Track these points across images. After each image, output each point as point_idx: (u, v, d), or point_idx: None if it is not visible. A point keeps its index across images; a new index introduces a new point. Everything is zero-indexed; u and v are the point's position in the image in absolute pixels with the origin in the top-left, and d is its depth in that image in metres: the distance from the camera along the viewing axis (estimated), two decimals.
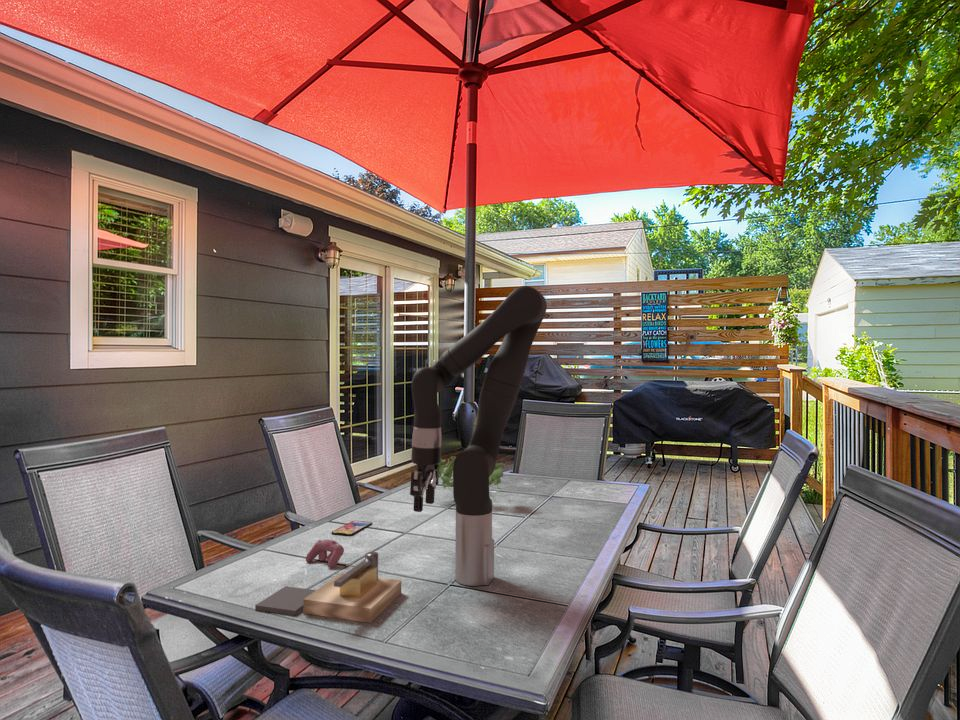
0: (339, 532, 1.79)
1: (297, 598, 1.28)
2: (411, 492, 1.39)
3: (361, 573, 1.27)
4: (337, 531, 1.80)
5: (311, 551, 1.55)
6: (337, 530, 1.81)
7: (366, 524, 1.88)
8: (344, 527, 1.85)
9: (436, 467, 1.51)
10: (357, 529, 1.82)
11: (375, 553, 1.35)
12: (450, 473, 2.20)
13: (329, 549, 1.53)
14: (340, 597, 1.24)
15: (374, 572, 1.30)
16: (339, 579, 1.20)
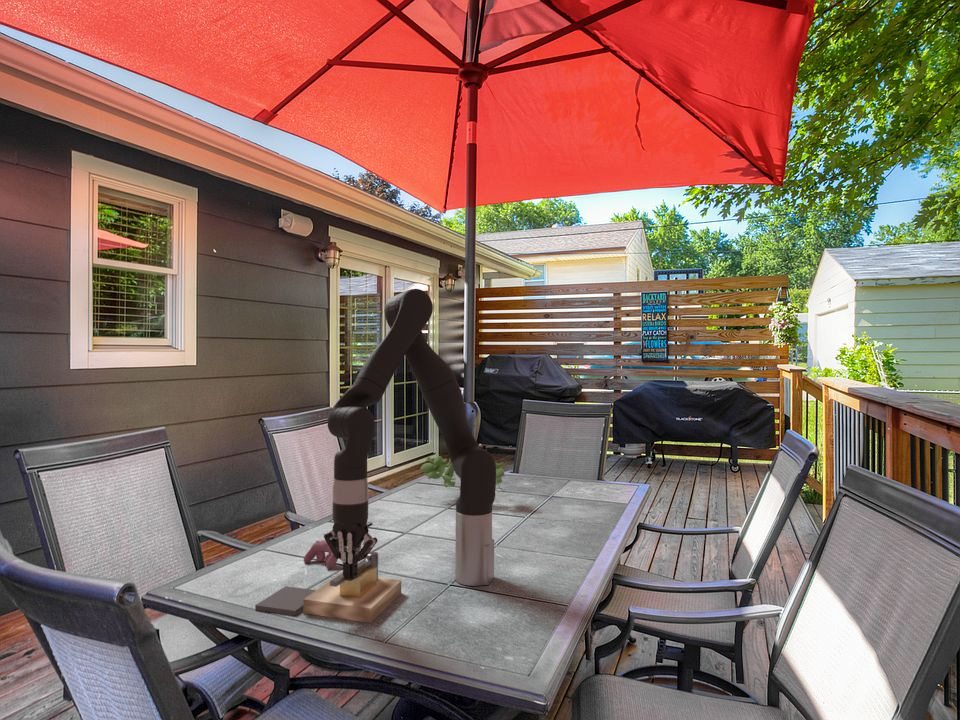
0: None
1: (297, 598, 1.28)
2: (360, 560, 1.20)
3: (361, 573, 1.27)
4: None
5: (309, 552, 1.54)
6: None
7: None
8: None
9: None
10: None
11: (375, 553, 1.35)
12: (451, 472, 2.21)
13: (327, 550, 1.52)
14: (340, 597, 1.24)
15: (374, 572, 1.30)
16: (335, 578, 1.21)
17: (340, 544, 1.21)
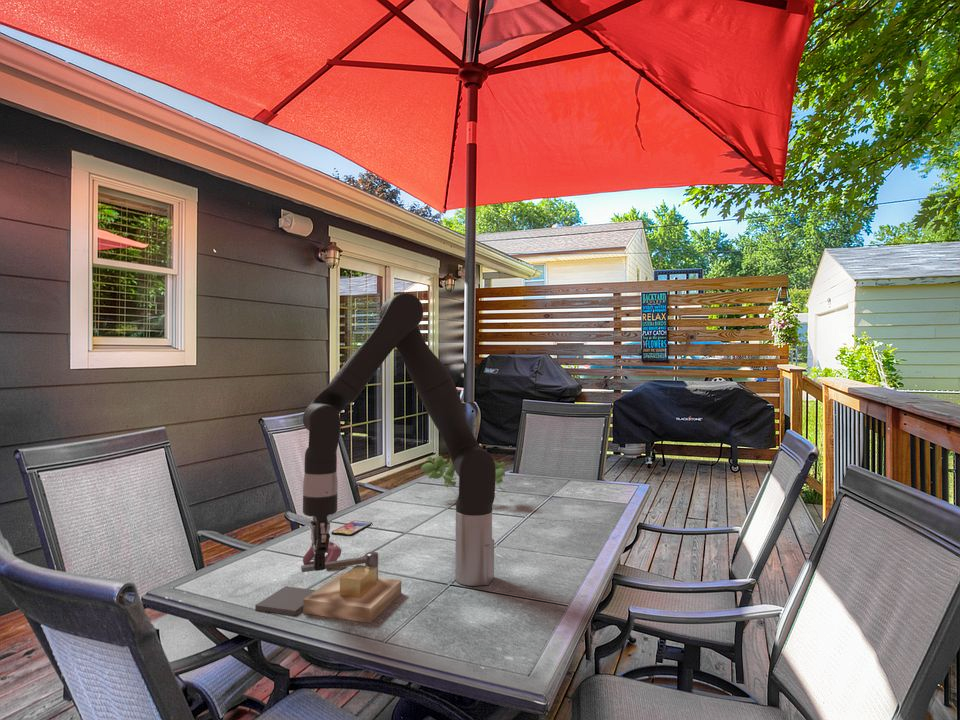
0: (339, 532, 1.79)
1: (297, 598, 1.28)
2: (317, 552, 1.24)
3: (361, 573, 1.27)
4: (337, 531, 1.80)
5: (308, 552, 1.54)
6: (337, 530, 1.81)
7: (366, 524, 1.88)
8: (344, 527, 1.85)
9: None
10: (357, 529, 1.82)
11: (375, 554, 1.34)
12: (452, 472, 2.22)
13: None
14: (340, 597, 1.24)
15: (374, 572, 1.30)
16: (308, 565, 1.28)
17: (311, 533, 1.28)
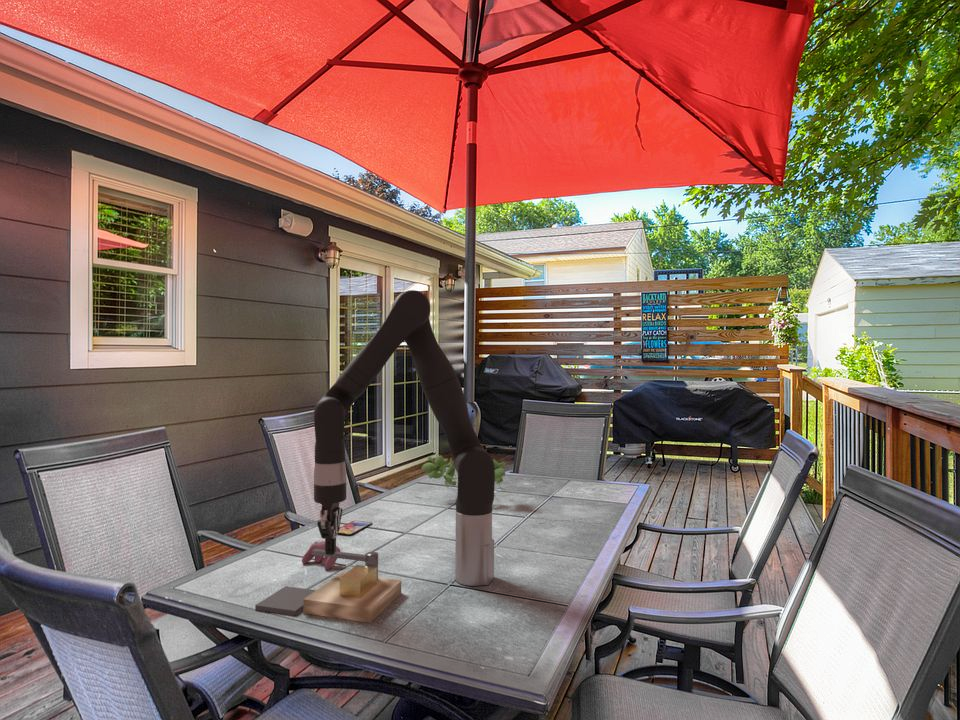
0: (339, 532, 1.79)
1: (297, 598, 1.28)
2: (323, 537, 1.32)
3: (361, 573, 1.27)
4: None
5: (307, 553, 1.53)
6: None
7: (366, 524, 1.88)
8: (344, 527, 1.85)
9: None
10: (357, 529, 1.82)
11: (372, 555, 1.33)
12: (452, 472, 2.22)
13: None
14: (340, 597, 1.24)
15: (374, 572, 1.30)
16: (319, 549, 1.39)
17: None
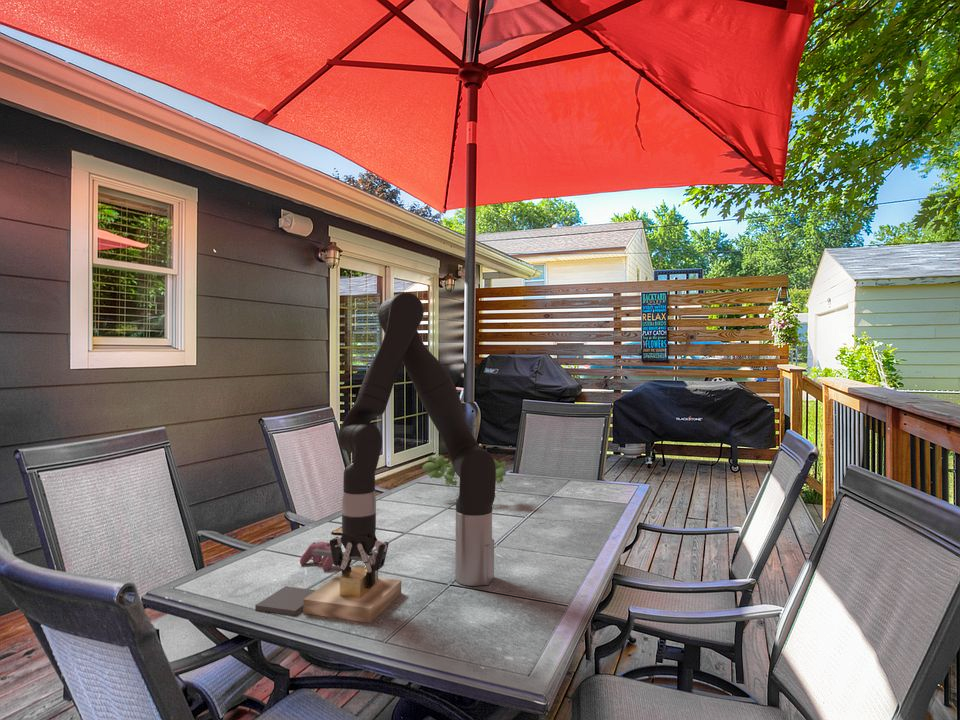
0: (339, 532, 1.79)
1: (297, 598, 1.28)
2: (379, 567, 1.26)
3: (361, 573, 1.27)
4: (337, 531, 1.80)
5: (305, 553, 1.53)
6: (337, 530, 1.81)
7: None
8: None
9: None
10: None
11: None
12: (453, 472, 2.23)
13: None
14: (340, 597, 1.24)
15: None
16: (319, 549, 1.39)
17: (346, 553, 1.27)
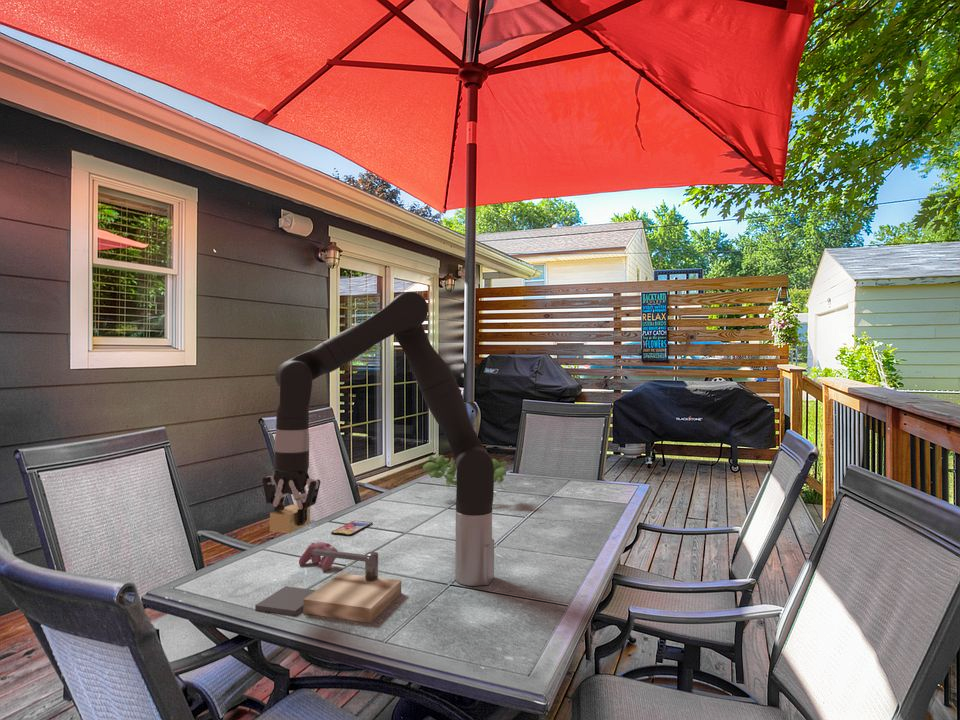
0: (339, 532, 1.79)
1: (297, 598, 1.28)
2: (310, 504, 1.26)
3: (293, 510, 1.27)
4: (337, 531, 1.80)
5: (304, 554, 1.52)
6: (337, 530, 1.81)
7: (366, 524, 1.88)
8: (344, 527, 1.85)
9: None
10: (357, 529, 1.82)
11: (372, 555, 1.33)
12: (453, 471, 2.23)
13: None
14: (340, 597, 1.24)
15: (307, 511, 1.30)
16: (319, 549, 1.39)
17: (277, 490, 1.27)
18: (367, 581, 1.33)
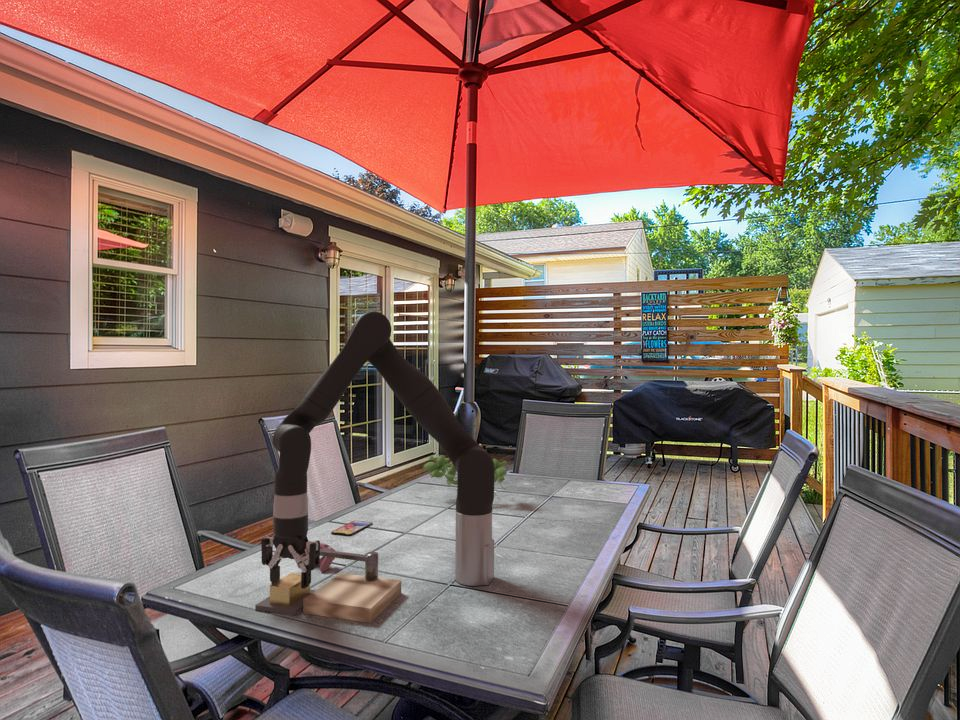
0: (339, 532, 1.79)
1: None
2: (314, 566, 1.26)
3: (292, 581, 1.27)
4: (337, 531, 1.80)
5: None
6: (337, 530, 1.81)
7: (366, 524, 1.88)
8: (344, 527, 1.85)
9: None
10: (357, 529, 1.82)
11: (372, 555, 1.33)
12: (454, 471, 2.24)
13: None
14: (340, 597, 1.24)
15: None
16: None
17: (275, 554, 1.27)
18: (367, 581, 1.33)
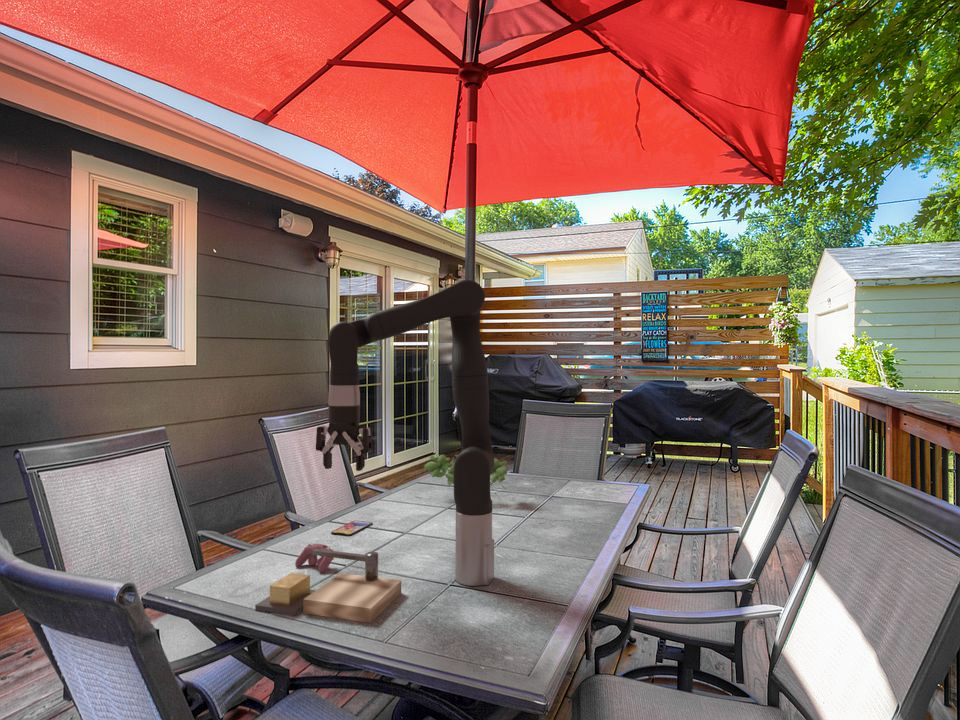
0: (339, 532, 1.79)
1: None
2: (368, 449, 1.36)
3: (292, 581, 1.27)
4: (337, 531, 1.80)
5: (301, 556, 1.51)
6: (337, 530, 1.81)
7: (366, 524, 1.88)
8: (344, 527, 1.85)
9: None
10: (357, 529, 1.82)
11: (372, 555, 1.33)
12: None
13: None
14: (340, 597, 1.24)
15: (307, 580, 1.30)
16: (319, 549, 1.39)
17: (330, 440, 1.38)
18: (367, 581, 1.33)
